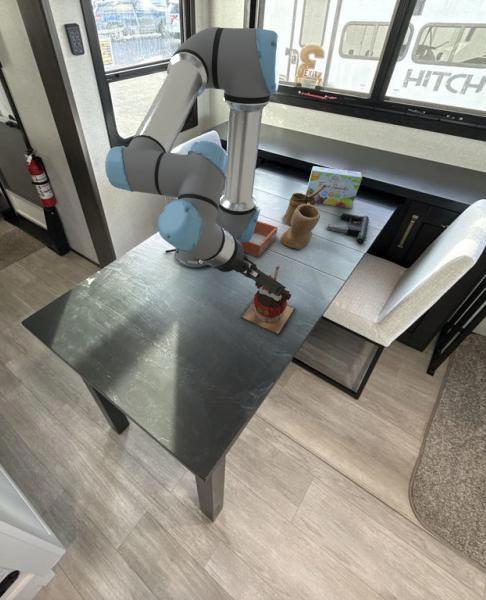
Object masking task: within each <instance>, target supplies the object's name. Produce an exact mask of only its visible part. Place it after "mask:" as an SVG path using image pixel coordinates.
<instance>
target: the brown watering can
mask: <svg viewBox="0 0 486 600" xmlns="http://www.w3.org/2000/svg"><path fill="white" fill-rule="evenodd" d="M325 187H326V185H325V184H324V185H322V186H320V187H319V188H318V189H317V190H316V191H315V192H314V193H313V194H312V195H311V196H306V194H304V193H301V192H294V193H292V195H291V197H290V199H289V203H288V206H287V208H286V211H285V213H284V215H283V218H282V219H283V222H284V223H285V224H287V225H289V226H291V220H292V216H293V214H294V211H295V210H296V208H297V207H298V206H300V205H302V204H310V205H313V206H316V203H315V198H314V196H316V195H317V194H318V193H319V192H321V191H322V190H323V189H324V188H325Z"/></svg>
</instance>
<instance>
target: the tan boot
mask: <svg viewBox="0 0 486 600" xmlns="http://www.w3.org/2000/svg"><path fill="white" fill-rule="evenodd" d="M320 218H321V211H320V210H319V209H318V208H317V207H316V205H314V206H313V205H310V203H307V204H302V205H300V206H298V207H297V208H296V210H295V211H294V214H293V216H292V220H291V225H289V227H288V228H287V229H286V231H284V233H283V234H282V235H281V237H280V243H282V244H283V245H285V246H286V247H288V248H291V249H297V250H298V249H302V248H303V247H305V245H307V244H308V242H309V240H310V239H311V237H313V234H314V233H313V232H312V231H313V230H314V229H315V227H317V225H318V224H319V221H320Z"/></svg>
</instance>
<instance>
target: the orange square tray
mask: <svg viewBox="0 0 486 600" xmlns="http://www.w3.org/2000/svg"><path fill="white" fill-rule="evenodd" d="M278 228H279V227H278V226H275V225H273V224H270V223H266V222H263V221H261V220H257V223H256V226H255V230H254V233H256V234H260V235H263V236H264V237H265V236H266V237H265V238H264V239H263V240H262V241H261V242H260V243H256V242H254V241H252V240H250V241H249V242H241V244H242V246H243V248H244V253H246V254H248V255H251V256H254V257H256V258H260V256H261V255H263V254H264V252H265V251H266V250H267V248H268V247H269V246H270V245H271V244H272V243H273V242H274V240H276V238H277V234H278Z"/></svg>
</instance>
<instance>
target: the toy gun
mask: <svg viewBox="0 0 486 600" xmlns="http://www.w3.org/2000/svg"><path fill="white" fill-rule="evenodd" d="M339 218H340V220H342V221H348V222H349V223H348V227H346V226H341V225H335V224H330V223H329V224H327V228H326V230H327V231H332V232H337V233H343V234H346V236H351V237H356V242H357V244H359V245H362V244H364V243H365V241H366V242H368V240H366V237H367V230H368V227H369V226H368V225H369V224H370V222H371V220H370V217H369V216H367V215H359V214H358V215H357V214H351V213H344V212H342V213H341V214H340V217H339ZM351 222H352V224H353V225H356V224H359V227H358V226H353V225H350V224H351Z"/></svg>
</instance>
